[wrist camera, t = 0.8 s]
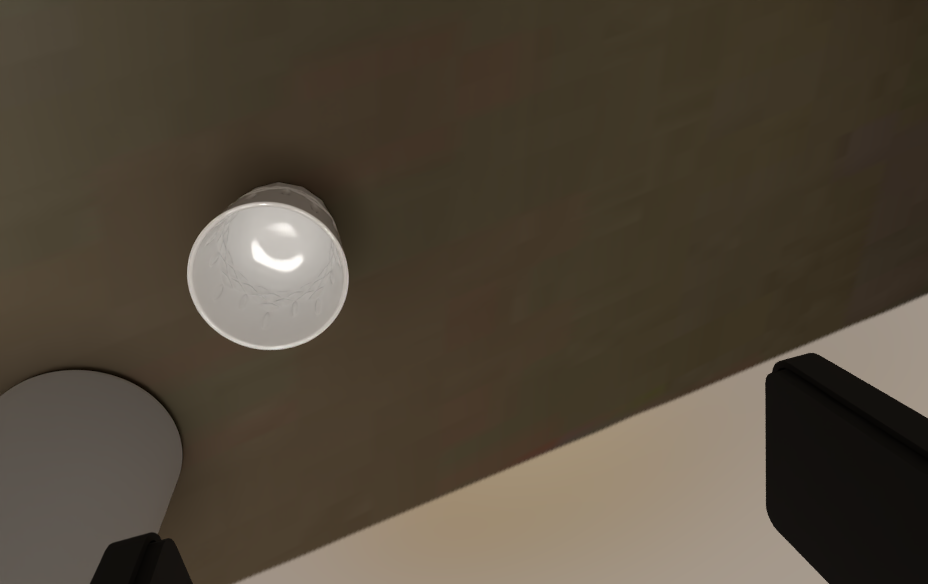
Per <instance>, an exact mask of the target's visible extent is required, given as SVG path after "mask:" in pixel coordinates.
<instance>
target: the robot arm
mask: <svg viewBox="0 0 928 584" xmlns="http://www.w3.org/2000/svg"><path fill="white" fill-rule="evenodd" d="M765 387H766V388H765V391H766V392H765V393H766V509H767V512H768V516H769V518H770V520H771V522H772V524H773V526H774V527H775V528H776V529H777V531H778V532H779V533H780V534H781V535H782V536H783V537H784V538H785V539H786V540H787V541H788V542H789V543H790V544H791V545H792V546H793V547H794V548H795V549H796V550H797V551H798V552H799V553H800V554H801V555H802V556H803V557H804V558H805V559H806V560H807V561H808V562H809V564H810V565H811V566H813V567H814V569H815V570H816V571H817V572H818V573H819V574H820V575H821V576H822V577H823V578H824V579H825V580H826V581H827V582H828V583H829V584H928V418H926V417H924V416H922V415H921V414H919V413H918V412H916V411H914V410H913V409H911V408H909V407H907V406H906V405H904V404H902V403H900V402H899V401H897V400H895V399H894V398H892V397H890V396H888V395H887V394H885V393H883V392H882V391H880V390H878V389H877V388H875V387H873V386H871V385H870V384H868V383H866V382H864V381H863V380H861V379H859V378H857V377H856V376H854V375H853V374H851V373H849V372H847V371H846V370H844V369H842V368H840V367H839V366H837V365H835V364H834V363H832V362H830V361H828V360H826V359H825V358H823V357H821V356H820V355H817V354H815V353H808V354H804V355H801V356H797V357H793V358H789V359H786V360H782V361H779V362H777V363H776V364H775V365H774V367H773V371H772V373H770V374H768V376H767V378H766V383H765ZM90 584H193V583H192V581H191V579H190V576H189V574H188V572H187V569H186V567H185V565H184V563H183V560H182V558H181V556H180V553H179V551H178V549H177V546H176V544H175V543H174V541H173V540H172V539H170V538H167V539H164V540H161V538H160V536H159V535H157V534H156V533H154V532H150V533H146V534H143V535H139V536H135V537H132V538H128V539H124V540H121V541H117V542H113V543H111V544H110V545H108V547H107V548H106V550H105V552H104V554H103V556H102V558H101V561H100V563H99V565H98V567H97V569H96V571H95V574H94V576H93V578H92V580H91V582H90Z"/></svg>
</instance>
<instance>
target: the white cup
mask: <svg viewBox="0 0 928 584" xmlns="http://www.w3.org/2000/svg"><path fill="white" fill-rule="evenodd" d="M187 280H188V287H189V291H190V294H191V297H192V300H193V302H194V304H195V306H196V308H197V310H198V312H199V313H200V315H201V316H202V317H203V319H204V320H205V321H206V322H207V323H208V324H209V325H210V326H211V327H212V328H213V329H214V330H215V331H217V332H218V333H219V334H221V335H222V336H224V337H225V338H227V339H229V340H231V341H233V342H235V343H237V344H240V345H243V346H246V347H250V348H255V349H262V350H279V349H286V348H291V347H295V346H298V345H301V344H303V343H306V342H308V341H310V340H311V339H313V338H315V337H316V336H318V335H319V334H321V333H322V332H323V331H324V330H325V329H327V328H328V327H329V326H330V324H331V323H332V322H333V321H334V320H335V318H336V317H337V315H338V314H339V312H340V310H341V309H342V306H343V304H344V302H345V299H346V295H347V291H348V283H349V273H348V265H347V261H346V257H345V254H344V250H343V245H342V242H341V238H340V235H339V232H338V229H337V227H336V224H335V222H334V220H333V218H332V216H331V215H330V213H329V211H328V210H327V208H326V206H325V204H324V203H323V201H322V200H321V199H319V198H318V197H316V196H315V195H314V194H312V193H311V192H309V191H308V190H306V189H305V188H304V187H301V186H296V185H291V184H285V183H280V182H277V183H273V184H269V185H265V186H261V187H257V188H254V189H253V190H252V191H250V192H249V193H247V194H245V195H243V196H241V197H240V198H239V199H237V200H236V201H234V202H233V203H232V204H231V205H230V206H228V207H227V208H226V209H225V210H224V211H223V212H221V213H220V214H219V215H218V216H217V217H216V218H215V219H213V220H212V221H211V222H210V223H209V224H208V225H207V226H206V227H205V228H204V229H203V230H202V232H201V233H200V234H199V236H198V237H197V239H196V241H195V243H194V245H193V247H192V250H191V252H190V256H189V260H188V267H187Z"/></svg>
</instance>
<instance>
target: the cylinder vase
mask: <svg viewBox="0 0 928 584" xmlns="http://www.w3.org/2000/svg"><path fill="white" fill-rule="evenodd" d="M181 466H182V444H181V439H180V435H179V432H178V430H177V427H176V425H175V423H174V421H173V419H172V418H171V416H170V415H169V413H168V412H167V411H166V409H165V408H164V407H163V406H162V405H161V404H160V403H159V402H158V401H157V400H156V399H155V398H154V397H153V396H152V395H150V394H149V393H148V392H146V391H145V390H144V389H142V388H140V387H139V386H137V385H135V384H133V383H131V382H129V381H127V380H125V379H122V378H120V377H117V376H114V375H110V374H106V373H102V372H96V371H88V370H64V371H56V372H50V373H46V374H42V375H39V376H36V377H33V378H30V379H28V380H25V381H23V382H21V383H19V384H17V385H16V386H14V387H12V388H11V389H9V390H8V391H6V392H5V393H4V394H3V395H1V396H0V584H90V582H91V580H92V578H93V576H94V574H95V571H96V569H97V567H98V565H99V563H100V561H101V558H102V556H103V554H104V552H105V550H106V548H107V547H108V545H110V544H111V543H113V542H117V541H121V540H124V539H128V538H132V537H135V536H139V535H143V534H146V533H150V532H154V533H156V534H158V532H159V529H160V526H161V524H162V521H163V518H164V516H165V513H166V510H167V507H168V505H169V502H170V499H171V497H172V494H173V491H174V489H175V486H176V483H177V481H178V478H179V475H180V471H181Z"/></svg>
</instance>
